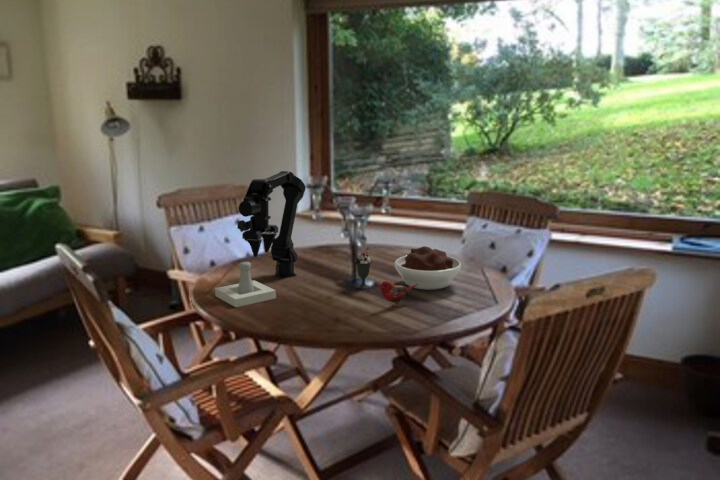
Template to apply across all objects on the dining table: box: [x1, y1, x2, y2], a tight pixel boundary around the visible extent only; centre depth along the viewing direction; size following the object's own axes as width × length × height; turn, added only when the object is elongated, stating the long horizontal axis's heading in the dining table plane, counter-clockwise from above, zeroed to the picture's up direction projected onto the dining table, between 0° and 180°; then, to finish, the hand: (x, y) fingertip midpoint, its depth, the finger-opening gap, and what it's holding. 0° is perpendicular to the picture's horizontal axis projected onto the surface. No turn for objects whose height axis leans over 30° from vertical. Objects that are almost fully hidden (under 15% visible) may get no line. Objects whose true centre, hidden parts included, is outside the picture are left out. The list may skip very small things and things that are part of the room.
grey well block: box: [214, 279, 277, 308], centre depth 235 cm, size 16×16×3 cm
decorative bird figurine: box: [379, 280, 418, 308], centre depth 225 cm, size 3×18×10 cm, turn 127°
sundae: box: [354, 248, 373, 290], centre depth 244 cm, size 7×7×15 cm
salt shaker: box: [238, 261, 254, 295], centre depth 234 cm, size 6×6×13 cm
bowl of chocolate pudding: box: [394, 245, 462, 291], centre depth 246 cm, size 25×25×15 cm
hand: (261, 254), depth 244 cm, fingers open, 9 cm apart
